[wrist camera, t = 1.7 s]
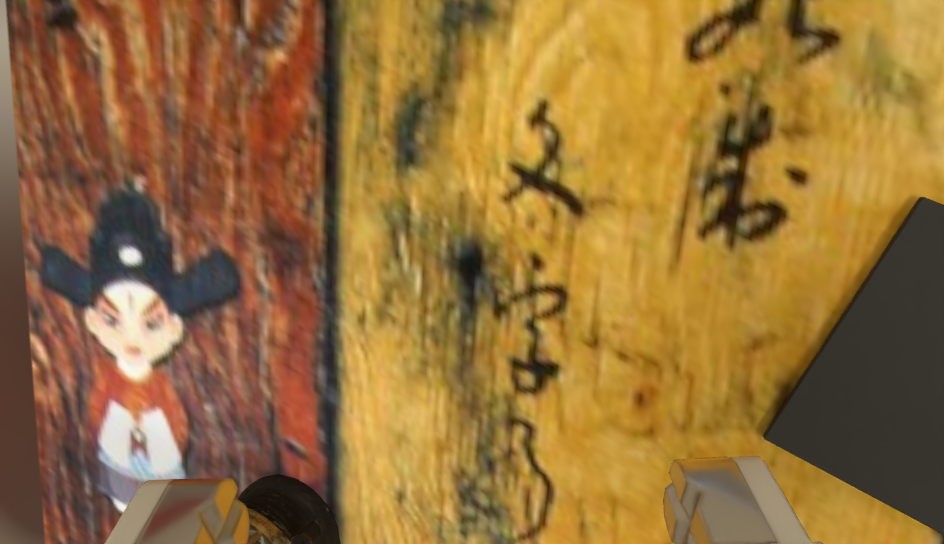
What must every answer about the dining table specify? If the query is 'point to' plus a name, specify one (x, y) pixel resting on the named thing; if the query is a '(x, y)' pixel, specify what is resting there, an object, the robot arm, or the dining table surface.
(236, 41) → the dining table surface
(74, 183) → the dining table surface
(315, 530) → the lantern
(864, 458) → the mat
